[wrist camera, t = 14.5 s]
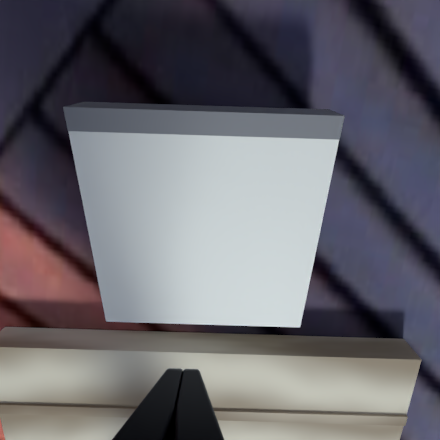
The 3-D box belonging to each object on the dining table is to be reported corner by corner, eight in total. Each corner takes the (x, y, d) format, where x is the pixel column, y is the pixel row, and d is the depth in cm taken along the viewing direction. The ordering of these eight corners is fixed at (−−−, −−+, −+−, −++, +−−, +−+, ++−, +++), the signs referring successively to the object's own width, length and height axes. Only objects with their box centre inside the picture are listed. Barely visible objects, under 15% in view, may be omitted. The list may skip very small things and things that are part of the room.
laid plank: (377, 443, 24) (392, 473, 22) (27, 433, 24) (8, 462, 22) (403, 338, 21) (423, 361, 19) (4, 326, 21) (-19, 348, 19)
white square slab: (300, 328, 19) (344, 115, 13) (105, 322, 18) (63, 106, 13) (293, 304, 20) (329, 109, 15) (116, 298, 20) (83, 101, 15)
